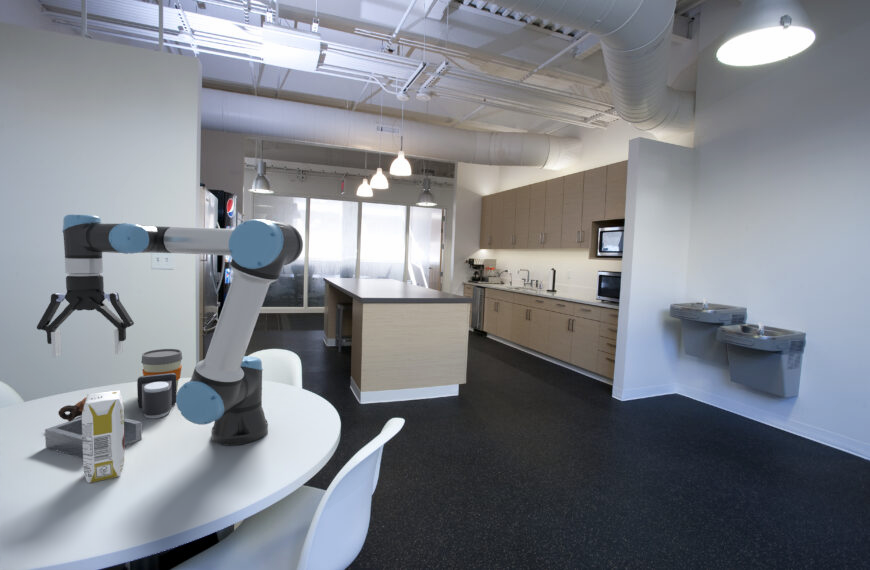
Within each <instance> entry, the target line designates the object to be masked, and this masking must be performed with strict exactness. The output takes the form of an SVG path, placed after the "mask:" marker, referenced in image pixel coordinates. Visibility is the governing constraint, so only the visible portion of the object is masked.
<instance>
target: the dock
mask: <svg viewBox="0 0 870 570" xmlns="http://www.w3.org/2000/svg"><path fill="white" fill-rule="evenodd" d="M44 433H45V434H44V438H45V448H46V447H47V448H46V449H49V448H50V450H53V449H54V450H53V451H56V450H58V451H57V452H59V451H61V452H60V453H63V452H64V454H66V453H67V454H66V455H71V456H74V457H75V458H76V457H77V458H81V459H83V441H82V416H80V417H79V418H78V417H77V418H76V419H75V418H74V419H73V420H72V421H67V422H64V423H60V424H58V425H53V426H52V427H51V426H50V427H48V428H45V429H44ZM142 433H143V432H142V421H138V420H134V419H130V418H126V417H124V447H126V446H129V445H131V444H134V443H135V442H139V441H141V440H142V439H143V438H142V436H143V435H142Z"/></svg>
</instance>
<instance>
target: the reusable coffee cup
mask: <svg viewBox="0 0 870 570" xmlns="http://www.w3.org/2000/svg"><path fill="white" fill-rule="evenodd" d="M182 360H183V353H182V350H181V349H177V348H161V349H153V350H148V351H145V352H143V353H142V355H141V361H140V362H141V364H142V368H143V369H141V370H142V376H148V375H158V374H167V373H175V374H176V393H177V392H178V389H179V388H178V387H179V380H180V379H181V374H182V369H183V368H182Z"/></svg>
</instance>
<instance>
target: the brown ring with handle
mask: <svg viewBox="0 0 870 570" xmlns="http://www.w3.org/2000/svg"><path fill="white" fill-rule="evenodd" d="M86 398H87V396H86V397H84V398H83V399H81V400H80V401H78V402H76V403H75V404H74V405H70V404H68V405H65V406H63V407H60V409H59V410H58V413H57V414H58V415H59V416H58V417H60V419H63V420H64V421H65V420H67V422H69V421H72V420H75V418H76V419H77V418H78V417H82V412H83V408H84V405H85V401H86ZM67 412H68V413H67Z"/></svg>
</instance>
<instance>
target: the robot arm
mask: <svg viewBox="0 0 870 570" xmlns="http://www.w3.org/2000/svg"><path fill="white" fill-rule="evenodd" d="M62 233H63V234H62V235H63V243H64V244H63V248H64V269H65V270H64V271H65V274H68V275H67V276H65V287H66V288H65V289H66V293H62V292H56V293H52V294H51V295H50V302H49V304H48V306H47V308H46V309H45V311H44V313H43V315H42V317H41V318H40V320H39V322H38V324H37V326H36V329H37V330H39V331H40V330H42V331H43V332H44V331H45V332H46V341H47V344H49V345H51V356H52V358H56V357H59V356H61V355H62V338H61V330H59V329H58V328H59V327H60V326H61V325H62V324H63V323H64V322H65V321H66V320H67V318H69V316H70V315H71V314H72V313H73V312H74V311H83V310H84V311H85V310H86V311H94V310H95V311H97V312H98V313H100V314H101V315H102V316H104V317H105V319H106V320H108V321H109V322H110V323H111V324H112V325H113V326H114V327H115V328H116V329H114V330H113V333H114V335H113V336H114V337H113V338H114V354H115V355H119V354H122V353H123V342H124V341H126V340H127V328H130V327H132V326H134V324H135V322H134V320H133V318H132V317H131V316H130V313H128V311H127V310H126V307H124V305H123V302H121V300H120V296H119V293H118V292H116V291H115V292H111V293H105V291H104V290H105V288H104V287H105V285H104V276H103V275H101V274H103V272H104V267H103V266H104V265H103V253H113V254H114V253H115V254H117V253H119V254H142V253H143V254H144V253H150V254H151V253H153V254H154V253H156V254H157V253H158V254H186V255H187V254H189V255H206V256H207V255H208V256H209V255H210V256H231V258H232V259H231V261H230V264H229V267H230V268H231V269H232V271H233V277H232V280H231V282H230V286H229V288H228V291H227V293H226V297H225V299H224V302H223V306H222V309H221V311H220V314H219V317H218V320H217V324H216V326H215V329H214V330H213V331H214V332H213V335H212V337H211V340H210V343H209V347H208V349H207V352H206V355H205V358H204V359H203V360H202V359H201V360H200V361H198V362H197V363H196V365H195V367H194V369H193V373H192V375H191V378H190V379H189V381H187V382H184V384H182V385H181V387H180V388H178V389H177V392H176V403H175V404H176V407H177V410H178V411H179V412H180V414H181V416H182V417H183V418H184V419H185V420H187V421H188V422H190V423H192V424H195V425H205V426H206V425H208V424H211V423H213V422H214V423H213V426H212V428H211V436H210V437H211V438H210V439H211V440H212V441H213V442H214V443H215V444H218V445H222V446H238V445H239V446H240V445H244V444H249V443H253V442H255V441H258V440H260V439H262V438H263V437H265V436H266V435H267V434H268V431H269V423H268V420H267V418H266V416H265V412H264V408H263V406H262V405H263V404H262V403H263V402H262V401H263V398H262V396H263V371H264V369H263V364H262V359H260V358H259V357H256V356H247V355H246V352H247V350H248V346H249V344H250V341H251V338H252V336H253V332H254V329H255V327H256V324H257V321H258V318H259V315H260V312H261V310H262V307H263V304H264V302H265V298H266V296H267V293H268V290H269V288H270V284H273V283H274V282H277V281H278V280H279V278H280V275H281V272H282V270H283V267H284V266H287V265H291V264H292V263H294V262H296V261H297V260H298V259H299V257H300V255H301V254H302V251H303V248H304V241H303V237H302V235H301V233H300V232H299V230H298V229H297V228H295V227H294V226H293V225H291V224H288V223H287V222H281V221H275V220H274V221H273V220H268V219H265V218H257V219H256V218H255V219H248V220H245V221H243V222H241V223H240V224H238V225H237V226H235V228H214V227H213V228H212V227H211V228H210V227H187V226H186V227H180V226H179V227H178V226H156V225H155V226H153V225H141V224H136V223H126V222H125V223H102V221H101V218H100V217H99V216H97V215H90V214H89V215H88V214H66V215H65V216H64V217H63V225H62ZM106 299H107V301H108V302H110V303H111V306H112V307H113V309H114V310H115V312H116V314H117V315H118V316H117V315H116V314H115V313H114V312H113V311H112V310H111V309H109V307H108V306H107V305H106V304H105V303H104V302H105V300H106ZM64 300H66V302H67V303H68V305H66V307H64V309H63V310H62V311H61V313H60V314H58V315H57V316H56V317H55V318H54V316H55V314H56V313H57V311H58V308H59V307H60V305H61V304H62V302H64ZM53 318H54V319H53Z"/></svg>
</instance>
